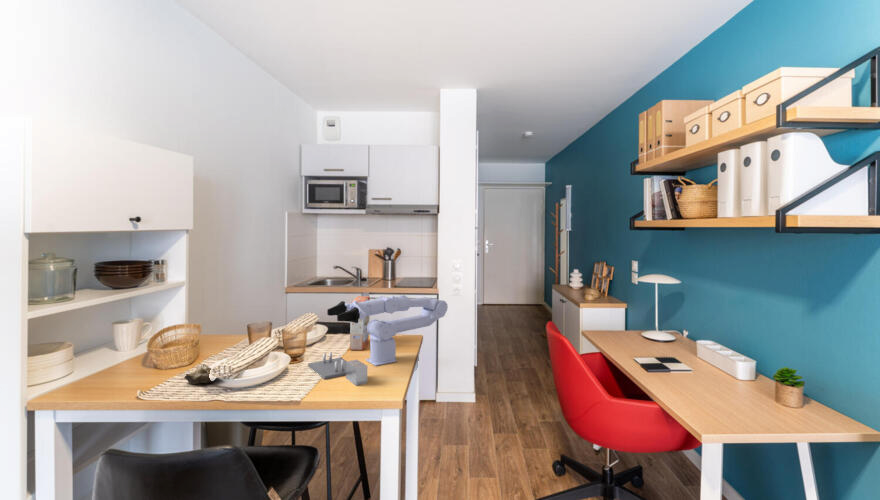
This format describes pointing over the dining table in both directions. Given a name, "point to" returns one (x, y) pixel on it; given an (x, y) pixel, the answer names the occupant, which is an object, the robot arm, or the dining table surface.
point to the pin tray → (329, 367)
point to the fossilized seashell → (199, 375)
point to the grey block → (356, 372)
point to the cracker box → (359, 329)
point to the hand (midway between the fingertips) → (332, 315)
